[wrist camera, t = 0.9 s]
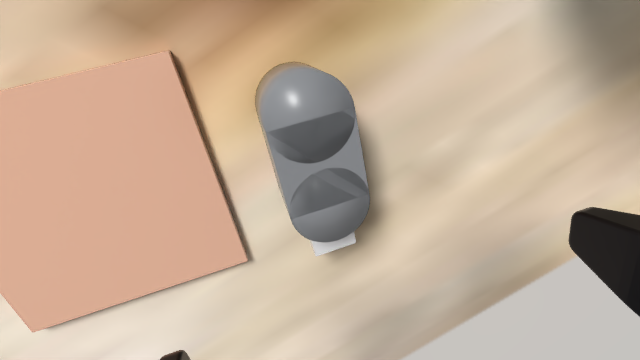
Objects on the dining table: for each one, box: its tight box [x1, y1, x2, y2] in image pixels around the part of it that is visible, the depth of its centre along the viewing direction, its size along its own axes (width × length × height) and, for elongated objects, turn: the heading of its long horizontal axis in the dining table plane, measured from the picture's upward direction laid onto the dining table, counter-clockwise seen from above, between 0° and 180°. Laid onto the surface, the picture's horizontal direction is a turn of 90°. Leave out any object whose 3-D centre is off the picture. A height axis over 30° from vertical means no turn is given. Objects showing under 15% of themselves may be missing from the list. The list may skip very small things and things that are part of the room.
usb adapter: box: [255, 62, 370, 256], centre depth 18 cm, size 10×4×4 cm, turn 12°
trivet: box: [0, 50, 248, 333], centre depth 18 cm, size 12×12×1 cm
